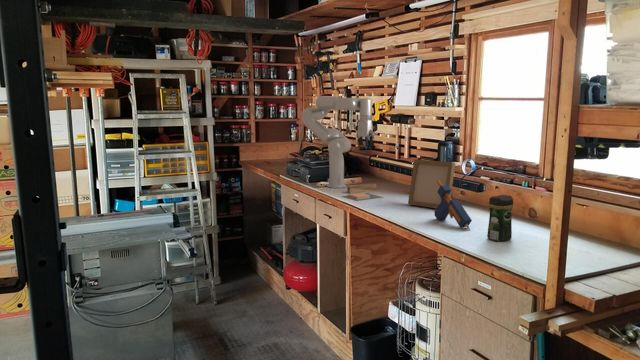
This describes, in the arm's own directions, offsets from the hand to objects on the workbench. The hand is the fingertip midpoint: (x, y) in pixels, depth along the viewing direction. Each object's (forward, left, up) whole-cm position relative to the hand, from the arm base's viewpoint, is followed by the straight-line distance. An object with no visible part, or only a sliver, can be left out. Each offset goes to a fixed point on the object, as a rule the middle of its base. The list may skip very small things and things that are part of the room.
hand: (365, 145), depth 309 cm
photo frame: (+57, +3, -28) cm, 64 cm away
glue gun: (+90, -16, -29) cm, 96 cm away
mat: (+19, -16, -28) cm, 38 cm away
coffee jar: (+118, -19, -28) cm, 123 cm away
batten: (+6, -6, -29) cm, 30 cm away
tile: (+19, -14, -27) cm, 36 cm away
